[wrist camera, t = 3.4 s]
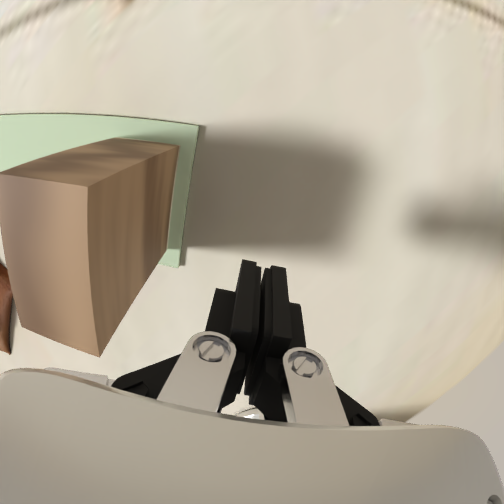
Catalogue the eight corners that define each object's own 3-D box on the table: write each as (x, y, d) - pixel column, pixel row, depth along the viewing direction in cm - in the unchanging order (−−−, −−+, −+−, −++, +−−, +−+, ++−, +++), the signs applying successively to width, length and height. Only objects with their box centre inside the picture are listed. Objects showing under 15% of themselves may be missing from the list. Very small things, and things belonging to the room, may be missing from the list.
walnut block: (180, 145, 20) (87, 186, 9) (167, 248, 23) (99, 357, 12) (116, 136, 20) (-4, 173, 9) (110, 236, 23) (21, 326, 12)
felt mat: (199, 126, 20) (198, 126, 19) (179, 265, 24) (177, 268, 24) (-10, 115, 19) (-13, 116, 18) (-8, 219, 23) (-10, 221, 23)
